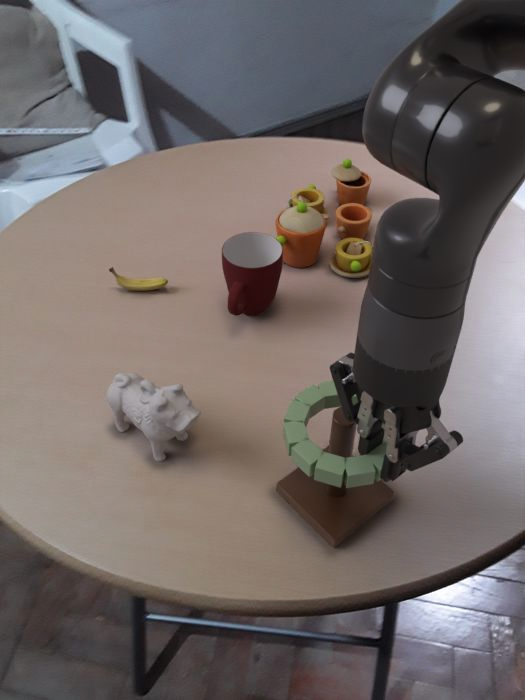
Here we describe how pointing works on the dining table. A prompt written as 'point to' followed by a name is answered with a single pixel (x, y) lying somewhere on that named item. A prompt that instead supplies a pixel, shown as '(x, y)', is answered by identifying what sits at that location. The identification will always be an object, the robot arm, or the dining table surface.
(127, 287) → the banana
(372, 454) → the ring
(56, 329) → the dining table surface
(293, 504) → the holder
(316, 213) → the toy tea set
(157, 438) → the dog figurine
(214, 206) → the dining table surface
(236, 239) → the mug
